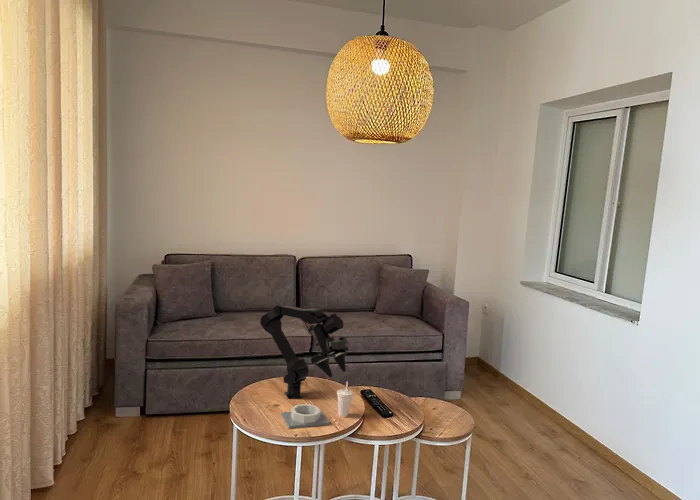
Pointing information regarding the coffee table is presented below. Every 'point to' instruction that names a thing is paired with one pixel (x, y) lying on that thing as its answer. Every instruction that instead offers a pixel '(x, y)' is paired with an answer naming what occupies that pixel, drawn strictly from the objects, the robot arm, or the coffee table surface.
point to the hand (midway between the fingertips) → (338, 374)
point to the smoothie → (344, 400)
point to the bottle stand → (304, 417)
